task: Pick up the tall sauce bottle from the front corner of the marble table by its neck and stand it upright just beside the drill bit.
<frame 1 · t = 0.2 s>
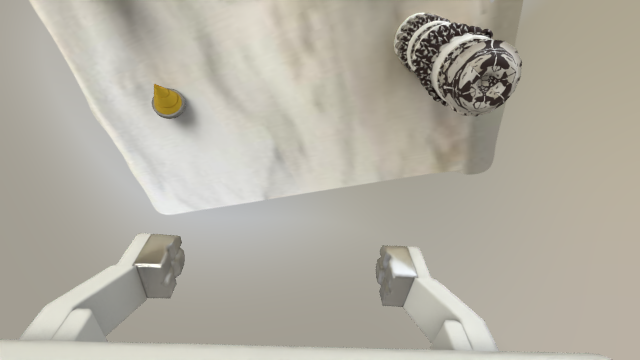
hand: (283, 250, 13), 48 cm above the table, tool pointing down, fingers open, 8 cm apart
decorative candle: (418, 40, 53), on the table
drill bit: (170, 93, 57), on the table
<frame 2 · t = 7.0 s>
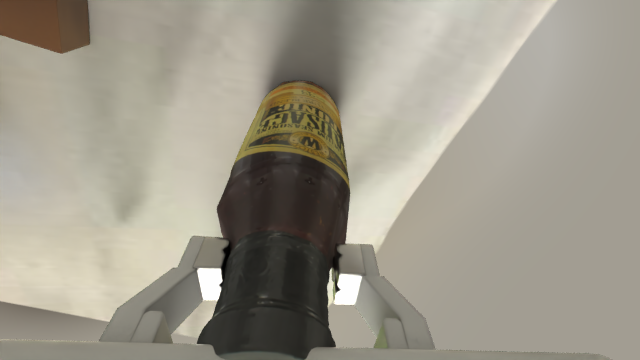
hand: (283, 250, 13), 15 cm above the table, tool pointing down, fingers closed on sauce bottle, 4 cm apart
sauce bottle: (297, 113, 25), on the table, touching gripper
when the fingers open (15 cm above the table, at t = 13.4 s): sauce bottle stays where it is, on the table.
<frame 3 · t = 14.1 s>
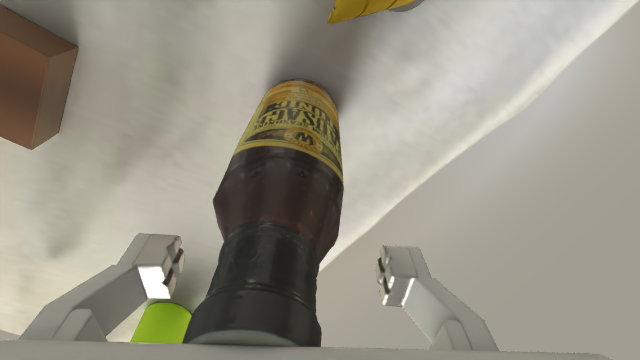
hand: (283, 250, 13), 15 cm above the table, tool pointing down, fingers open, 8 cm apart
plywood offcut: (31, 75, 23), on the table
sauce bottle: (296, 111, 25), on the table
soap dispenser: (172, 313, 40), on the table
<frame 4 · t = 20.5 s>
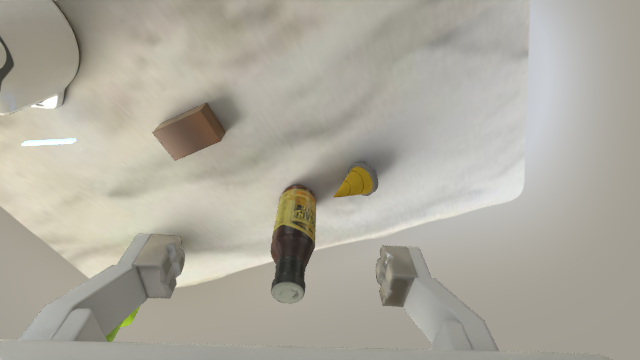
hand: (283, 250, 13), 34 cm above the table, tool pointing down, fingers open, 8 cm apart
plywood offcut: (193, 127, 46), on the table
sauce bottle: (297, 196, 54), on the table
drill bit: (354, 173, 52), on the table
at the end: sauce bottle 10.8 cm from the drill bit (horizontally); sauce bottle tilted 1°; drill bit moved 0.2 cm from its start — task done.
